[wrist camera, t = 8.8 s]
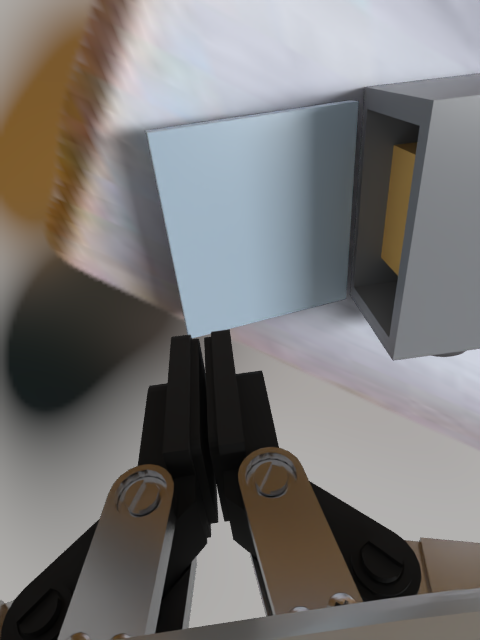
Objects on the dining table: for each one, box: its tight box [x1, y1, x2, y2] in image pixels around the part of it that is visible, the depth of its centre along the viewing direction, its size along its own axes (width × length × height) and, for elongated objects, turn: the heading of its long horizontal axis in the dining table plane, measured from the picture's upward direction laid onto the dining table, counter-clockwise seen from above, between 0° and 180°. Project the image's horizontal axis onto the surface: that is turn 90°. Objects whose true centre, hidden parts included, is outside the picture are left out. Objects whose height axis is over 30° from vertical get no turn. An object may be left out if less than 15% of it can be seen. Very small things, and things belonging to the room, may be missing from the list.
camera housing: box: [350, 74, 480, 361], centre depth 23 cm, size 15×9×7 cm, turn 5°
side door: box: [145, 100, 359, 338], centre depth 23 cm, size 12×1×11 cm
